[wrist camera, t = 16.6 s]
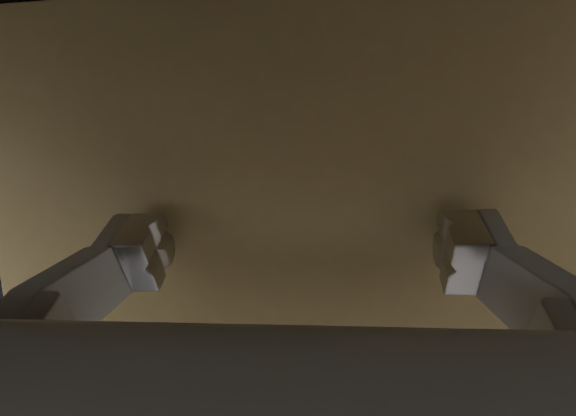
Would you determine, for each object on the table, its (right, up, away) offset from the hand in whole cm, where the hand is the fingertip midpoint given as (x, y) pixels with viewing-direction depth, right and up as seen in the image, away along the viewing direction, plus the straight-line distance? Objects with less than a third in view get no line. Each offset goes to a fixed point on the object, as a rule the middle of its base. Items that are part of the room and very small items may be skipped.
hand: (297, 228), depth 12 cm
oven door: (0, +8, +3) cm, 8 cm away
